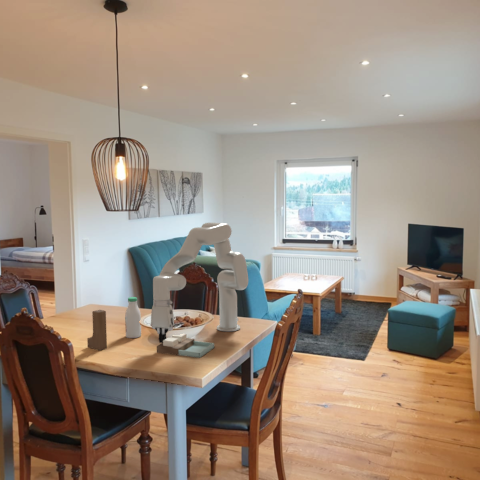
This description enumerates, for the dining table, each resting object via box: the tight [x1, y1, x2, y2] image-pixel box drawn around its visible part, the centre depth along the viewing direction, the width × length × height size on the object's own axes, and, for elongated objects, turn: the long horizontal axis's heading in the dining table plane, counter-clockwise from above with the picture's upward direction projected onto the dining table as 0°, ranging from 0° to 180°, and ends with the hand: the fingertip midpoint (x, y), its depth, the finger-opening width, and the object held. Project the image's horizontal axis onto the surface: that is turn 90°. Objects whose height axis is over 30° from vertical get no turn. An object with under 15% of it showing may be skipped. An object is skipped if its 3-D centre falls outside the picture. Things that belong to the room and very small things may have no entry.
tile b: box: [163, 337, 178, 347], centre depth 209 cm, size 5×5×2 cm
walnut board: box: [156, 337, 196, 356], centre depth 213 cm, size 16×11×3 cm
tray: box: [178, 340, 215, 359], centre depth 209 cm, size 15×11×2 cm
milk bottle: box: [124, 296, 142, 339], centre depth 233 cm, size 8×8×20 cm
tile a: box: [171, 333, 188, 342], centre depth 217 cm, size 5×5×2 cm
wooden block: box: [86, 309, 108, 351], centre depth 214 cm, size 9×4×18 cm, turn 54°
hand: (162, 341), depth 211 cm, fingers closed
